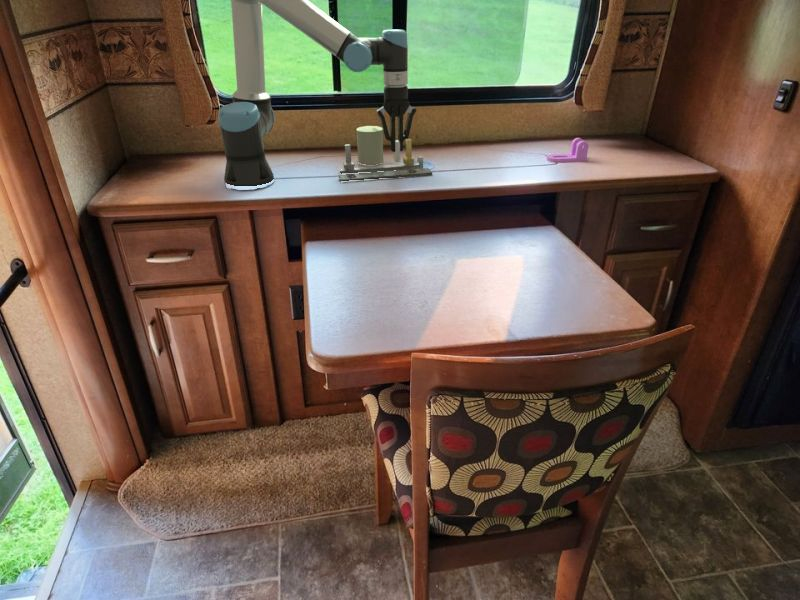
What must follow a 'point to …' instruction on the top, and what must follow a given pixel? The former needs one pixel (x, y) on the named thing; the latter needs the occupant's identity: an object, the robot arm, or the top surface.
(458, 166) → the top surface
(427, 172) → the hole plate
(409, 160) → the slider
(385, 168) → the rail
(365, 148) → the can
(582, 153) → the bracket
